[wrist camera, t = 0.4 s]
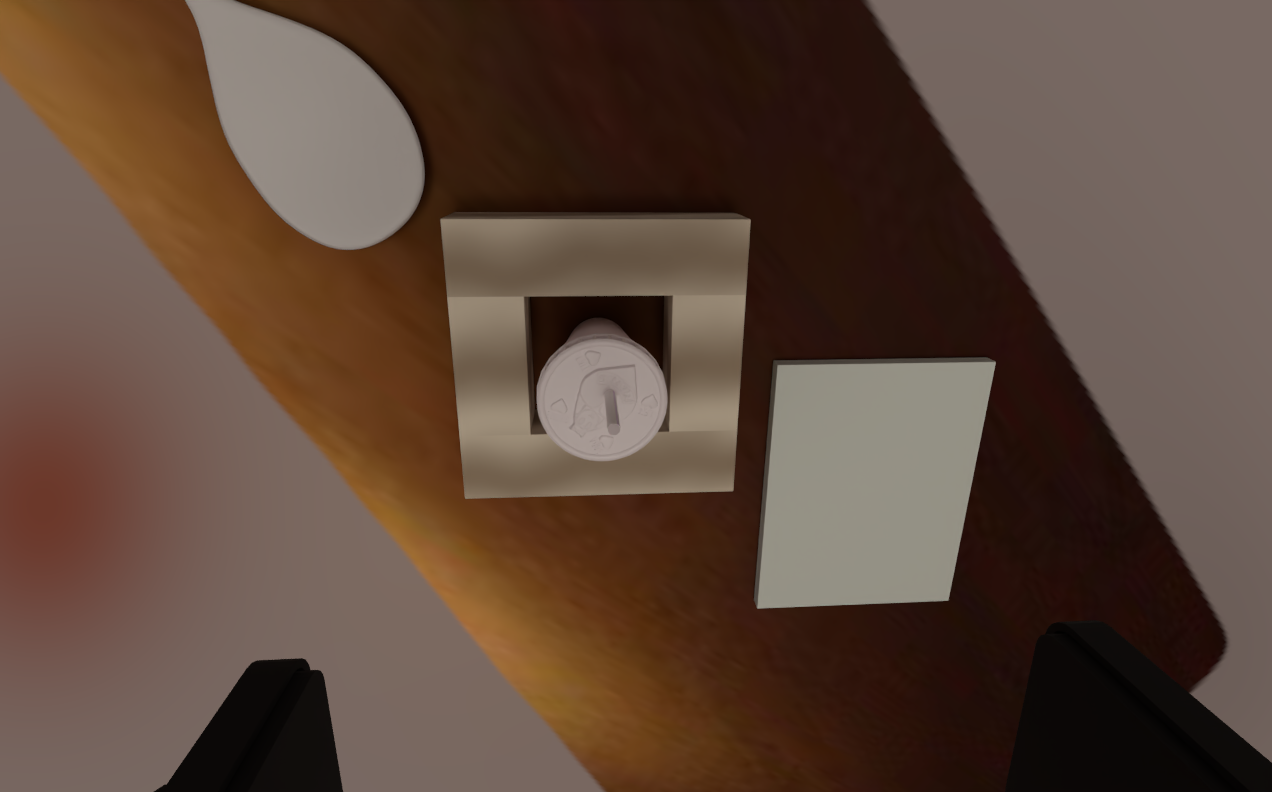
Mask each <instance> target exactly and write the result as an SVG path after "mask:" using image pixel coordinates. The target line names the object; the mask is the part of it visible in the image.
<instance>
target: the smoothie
mask: <svg viewBox="0 0 1272 792" xmlns="http://www.w3.org/2000/svg"><path fill="white" fill-rule="evenodd" d="M666 409H667V389H666V384H665V379H664V374H663V372H662V371H661V369H660V367H659V365H658V363H657V361H656V359H655V358H654V357H653V356H652V355H651V354H650V353H649V352H648V351H647V350H646V349H645V348H644V347H642V346H641V345H639V344H637V343H636V342H634V341H633V340H631V339H630V338H629V337H628V335H627V334H626V333H625V332H624V331H623V330H622V328H621V327H620V326H619V325H618V324H616V323H615V322H613V321H611V320H609V319H605V318H591V319H588V320H585V321H583V322H582V323H580V324H579V325H578V326H577V327H576V328H575V329H574V330H573V332H572V333H571V335H570V336H569V338H568V340H567V341H566V343H565V344H564V345H563V346H562V347H560V348H559V349H558V350H557V351H556V352H555V353H554V354H553V355H552V356H551V357H550V358H549V360H548V361H547V363H546V364H545V366H544V368H543V369H542V371H541V374H540V377H539V381H538V384H537V410H538V415H539V418H540V421H541V423H542V426H543V428H544V429H545V431H546V433H547V434H548V436H549V437H550V438H551V439H552V440H553V441H554V442H555V443H556V444H557V445H558V446H559V447H560V448H562V449H563V450H565V451H566V452H568V453H570V454H572V455H574V456H576V457H579V458H582V459H586V460H592V461H611V460H617V459H621V458H624V457H627V456H629V455H631V454H633V453H635V452H637V451H638V450H640V449H641V448H643V447H644V446H645V445H646V444H648V443H649V442H650V441H651V440H652V438H653V437H654V436H655V435H656V433H657V432H658V430H659V429H660V427H661V425H662V423H663V420H664V417H665V414H666Z"/></svg>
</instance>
